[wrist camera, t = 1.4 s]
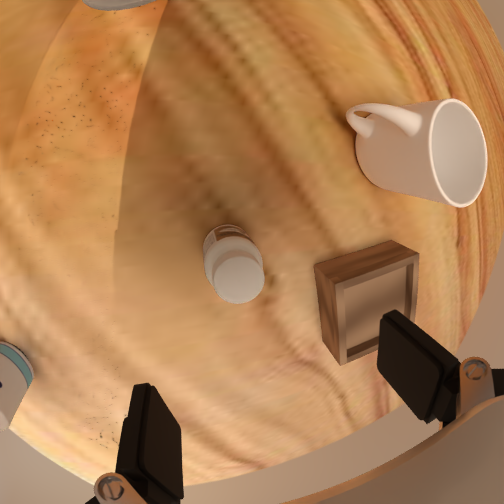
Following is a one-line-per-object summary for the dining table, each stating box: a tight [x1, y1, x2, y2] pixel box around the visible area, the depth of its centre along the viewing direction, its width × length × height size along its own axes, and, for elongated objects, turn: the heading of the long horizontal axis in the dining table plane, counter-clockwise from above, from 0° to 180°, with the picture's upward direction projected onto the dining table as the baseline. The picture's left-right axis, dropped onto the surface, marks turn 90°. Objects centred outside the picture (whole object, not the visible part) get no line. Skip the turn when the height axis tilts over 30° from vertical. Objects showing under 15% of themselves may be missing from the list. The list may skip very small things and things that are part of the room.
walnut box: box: [314, 240, 419, 366], centre depth 28 cm, size 10×10×5 cm
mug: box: [346, 99, 487, 207], centre depth 20 cm, size 9×12×11 cm
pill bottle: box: [203, 225, 265, 304], centre depth 22 cm, size 4×4×8 cm
